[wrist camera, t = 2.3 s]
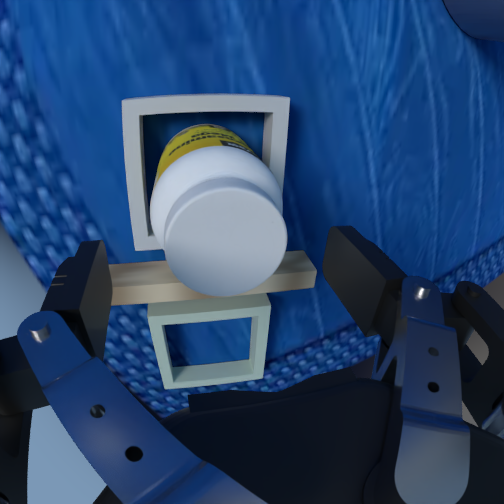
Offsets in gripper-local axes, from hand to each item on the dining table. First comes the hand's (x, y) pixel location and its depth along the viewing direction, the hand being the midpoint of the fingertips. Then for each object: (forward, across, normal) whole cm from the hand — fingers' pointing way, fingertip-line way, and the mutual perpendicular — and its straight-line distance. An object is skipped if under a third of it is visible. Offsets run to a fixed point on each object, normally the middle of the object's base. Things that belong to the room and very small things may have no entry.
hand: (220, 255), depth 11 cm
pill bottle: (+12, -1, 0) cm, 12 cm away
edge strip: (+12, -1, +8) cm, 14 cm away
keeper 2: (+12, -1, +16) cm, 20 cm away
